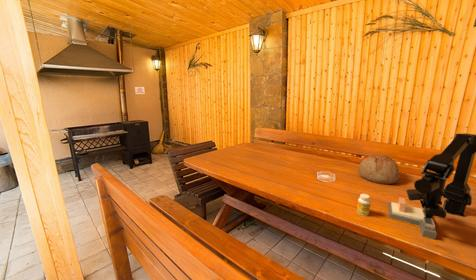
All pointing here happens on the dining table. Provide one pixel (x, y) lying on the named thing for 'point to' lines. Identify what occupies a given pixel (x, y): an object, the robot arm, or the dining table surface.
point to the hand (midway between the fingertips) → (426, 219)
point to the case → (425, 231)
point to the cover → (406, 210)
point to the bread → (379, 169)
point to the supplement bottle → (363, 205)
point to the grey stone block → (428, 223)
